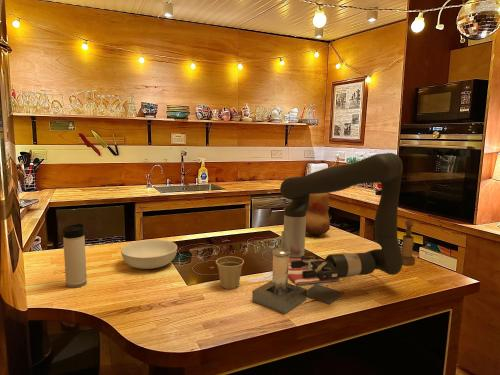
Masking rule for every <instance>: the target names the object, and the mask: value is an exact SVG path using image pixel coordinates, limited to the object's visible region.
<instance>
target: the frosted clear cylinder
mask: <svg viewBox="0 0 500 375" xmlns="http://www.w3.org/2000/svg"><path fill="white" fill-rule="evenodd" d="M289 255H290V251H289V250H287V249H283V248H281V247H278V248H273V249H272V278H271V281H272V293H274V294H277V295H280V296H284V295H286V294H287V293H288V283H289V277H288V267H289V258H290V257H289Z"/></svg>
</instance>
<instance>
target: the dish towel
mask: <svg viewBox="0 0 500 375" xmlns="http://www.w3.org/2000/svg"><path fill="white" fill-rule="evenodd" d="M307 257H315V256H314V255H310V256H307ZM300 260H301V257H289V267H288V279H289V280H291V282H292V283H294V285H295V286H298V287H306V286H314V285H315V284H318V285H326V284H329V285H330V284H337V283H340V282H339V281H340V279H341V278H337V279H332V280H325V281H320V280H319V278H318V279H315V278H306V279H304V278H302V272H303V271H307V270H308V268H303V267H302V268H291V261H300ZM305 263H307V262H305ZM307 266H308V265H307ZM311 267H312V265H311ZM324 277H326V276H324Z"/></svg>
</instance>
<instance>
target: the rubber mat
mask: <svg viewBox="0 0 500 375" xmlns="http://www.w3.org/2000/svg"><path fill="white" fill-rule="evenodd" d="M343 294H344V291H340V290H336V289H334V288H331V287H327V286H326V285H325V286H324V285H322V284H319V285H318V284H315V285H311V287H309V288H307V292H306V298H309V299H312V300H316V301H318V302H322V303H325V304H327V305H331V304H332V303H333V302H335V301H337V299H338V298H340V297H341V296H343Z"/></svg>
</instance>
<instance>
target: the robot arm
mask: <svg viewBox="0 0 500 375" xmlns="http://www.w3.org/2000/svg"><path fill="white" fill-rule="evenodd" d="M403 168H404V166H403V160H402V159H401V157H400V156H399V155H398V154H396V153H393V152H384V153H376V154H373V155H371V156H368V157H366V158H363V159H361V160H358V161H356V162H351V163H347V164H345V163H344V164H340V165H339V164H338V165H333V166H329V167H326V168H323V169H319V170H316V171H314V172H311V173H308V174H306V175H303V176H294V177H293V176H292V177H288V178H286V179H284V180H283V181H282V182H281V184H280V187H279V188H280V189H279V190H280V191H279V192H280V194H281V196H282V197H283V198H284V199H286V200H291V202H290V203H289V204H288V205H287V206H285V207H284V210H283V211H284V212H283V214H284V215H283V231H281V239H280V248H283V249H287V250H289V251H290V255H289V258H301V260H300V261H291V268H302V267H303V268H308V270H307V271H303V272H302V278H304V279H306V278H315V279H318V278H319V280H320V281H325V280H332V279H337V278H339V279H343V278H352V277H357V276H363V275H370V274H372V273H373V272H374V271H375V270H379V271H382V273H385V274H387V275H391V276H394V275H398V274H399V273H400V272H401V270H402V269H403V266H404V265H403V257H402V248H401V246H400V243H399V239H398V210H399V209H398V208H399V207H398V206H399V199H400V191H401V183H402V177H403V172H404V171H403V170H404V169H403ZM374 183H376V184H379V183H380V184H381V192H380V193H381V194H380V198H379V202H378V206H377V208H376V213H375V216H374V240H375V242H376V243H377V244H378V245H379V246H380V248H375V249H372V250H368V251H366V252H356V253H350V252H346V253H333V254H328V255H327V256H326V257H325V259H321V258H319V257H318V256H314V257H308V256H305V251H306V250H305V248H306V247H305V246H306V231H305V230H306V212H307V210H308V206H309V196H310V194H321V193H329V194H330V193H336V192H340V191H344V190H347V189H349V188H351V187H354V186H356V185H362V184H374ZM305 262H307V263H305ZM307 265H308V266H307ZM311 265H312V267H311ZM324 276H326V277H324Z"/></svg>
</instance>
